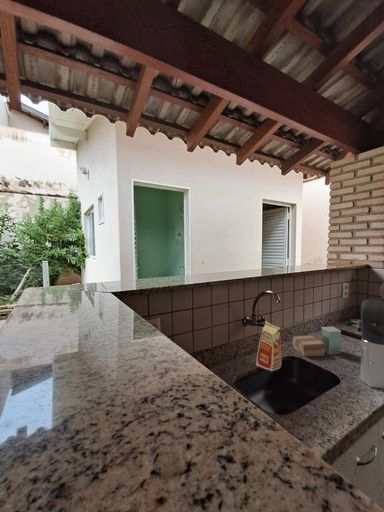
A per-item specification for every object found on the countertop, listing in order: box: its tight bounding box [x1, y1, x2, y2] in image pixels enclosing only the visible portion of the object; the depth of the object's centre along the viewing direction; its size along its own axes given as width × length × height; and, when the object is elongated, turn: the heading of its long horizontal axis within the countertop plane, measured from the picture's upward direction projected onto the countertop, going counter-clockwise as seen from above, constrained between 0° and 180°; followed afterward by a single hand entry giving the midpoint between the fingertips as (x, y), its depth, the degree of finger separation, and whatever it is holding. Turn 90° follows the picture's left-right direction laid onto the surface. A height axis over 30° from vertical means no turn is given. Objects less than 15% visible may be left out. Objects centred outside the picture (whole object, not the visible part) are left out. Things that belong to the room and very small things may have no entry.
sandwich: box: [292, 335, 326, 357], centre depth 123 cm, size 11×11×6 cm
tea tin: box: [321, 326, 342, 355], centre depth 123 cm, size 6×6×12 cm
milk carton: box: [255, 321, 283, 372], centre depth 109 cm, size 9×9×20 cm
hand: (351, 326), depth 124 cm, fingers open, 8 cm apart
